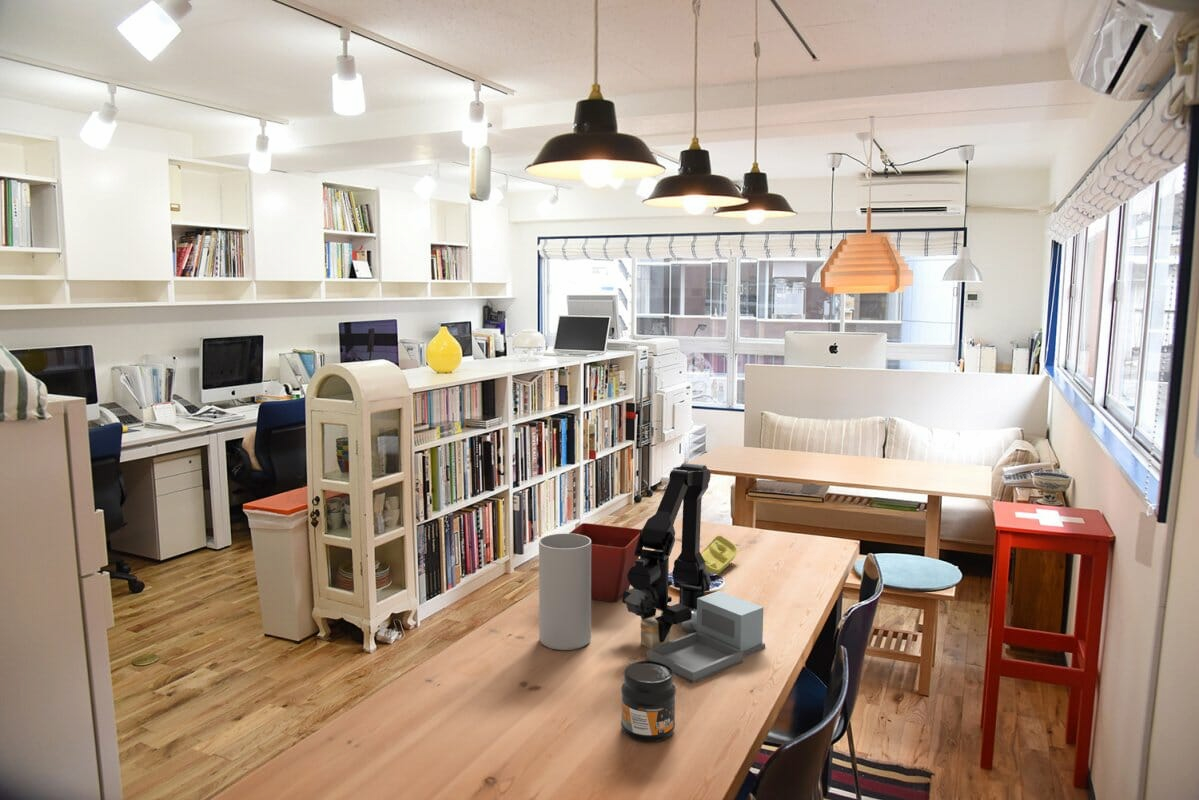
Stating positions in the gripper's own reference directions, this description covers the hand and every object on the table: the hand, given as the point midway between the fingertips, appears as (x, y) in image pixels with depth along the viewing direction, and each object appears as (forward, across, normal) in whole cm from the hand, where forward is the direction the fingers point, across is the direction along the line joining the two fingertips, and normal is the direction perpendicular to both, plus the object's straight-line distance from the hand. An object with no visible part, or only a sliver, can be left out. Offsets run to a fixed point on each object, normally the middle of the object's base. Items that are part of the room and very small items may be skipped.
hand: (655, 638), depth 202 cm
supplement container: (+1, +28, -29) cm, 40 cm away
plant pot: (+1, -34, +12) cm, 36 cm away
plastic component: (+2, -29, +52) cm, 60 cm away
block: (+1, 0, 0) cm, 1 cm away
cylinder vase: (+1, -15, -16) cm, 22 cm away
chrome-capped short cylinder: (+1, 0, +12) cm, 12 cm away
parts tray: (+1, +13, 0) cm, 13 cm away
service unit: (+1, +11, +14) cm, 18 cm away
